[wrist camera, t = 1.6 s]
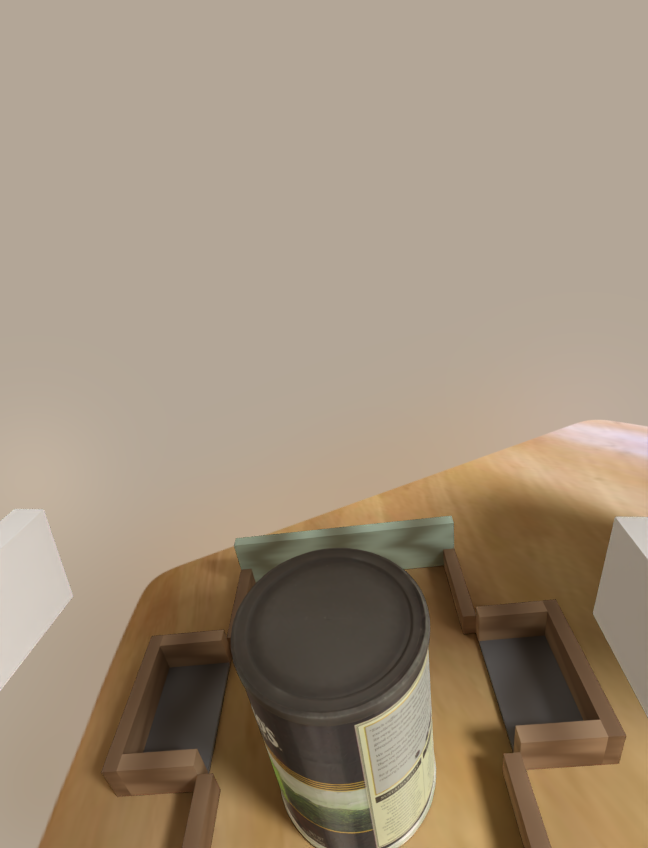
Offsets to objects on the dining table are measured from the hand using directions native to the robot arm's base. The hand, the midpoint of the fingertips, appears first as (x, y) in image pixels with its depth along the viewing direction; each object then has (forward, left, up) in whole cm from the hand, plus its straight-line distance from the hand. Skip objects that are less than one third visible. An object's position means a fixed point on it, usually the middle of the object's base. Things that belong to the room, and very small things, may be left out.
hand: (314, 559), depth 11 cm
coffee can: (+1, -9, -27) cm, 28 cm away
